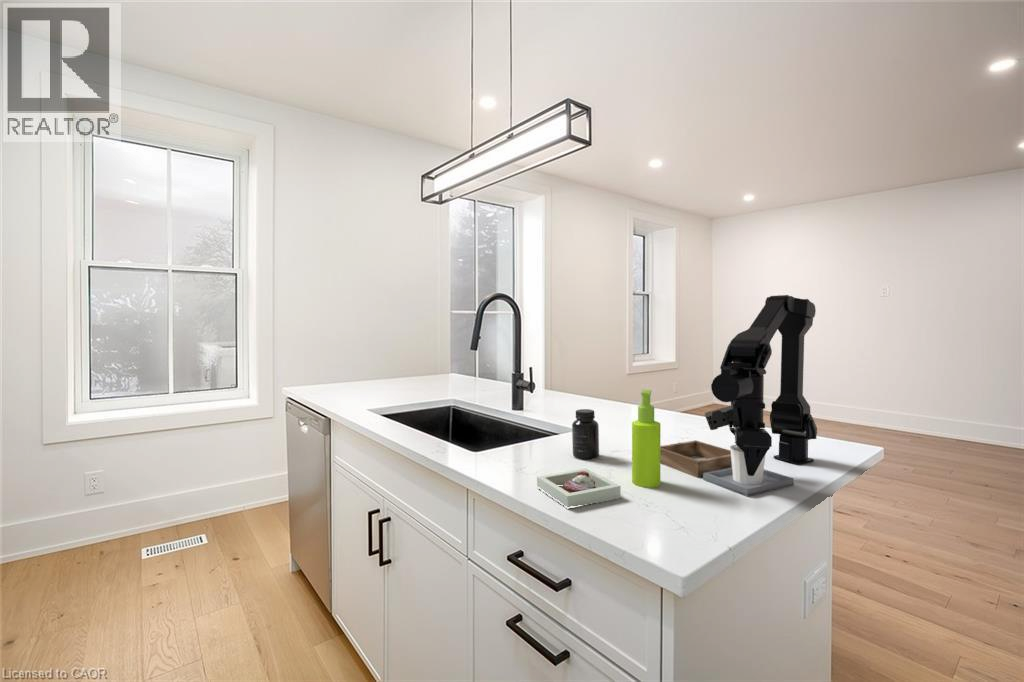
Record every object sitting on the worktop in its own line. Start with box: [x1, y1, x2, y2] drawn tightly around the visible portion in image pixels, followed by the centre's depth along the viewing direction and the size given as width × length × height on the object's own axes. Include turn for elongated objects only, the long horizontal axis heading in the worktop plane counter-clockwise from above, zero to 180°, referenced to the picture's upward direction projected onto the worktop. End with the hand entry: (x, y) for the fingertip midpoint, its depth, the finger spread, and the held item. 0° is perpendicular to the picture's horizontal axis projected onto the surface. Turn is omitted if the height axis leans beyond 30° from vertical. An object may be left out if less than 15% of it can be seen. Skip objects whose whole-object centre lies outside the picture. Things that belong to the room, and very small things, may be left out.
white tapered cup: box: [729, 444, 766, 485], centre depth 99 cm, size 7×7×7 cm
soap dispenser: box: [631, 389, 661, 488], centre depth 100 cm, size 6×7×20 cm
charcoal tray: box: [702, 467, 795, 497], centre depth 99 cm, size 14×11×2 cm
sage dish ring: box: [536, 468, 621, 507], centre depth 94 cm, size 12×12×2 cm
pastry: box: [561, 471, 596, 493], centre depth 93 cm, size 8×8×5 cm
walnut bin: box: [660, 440, 732, 479], centre depth 112 cm, size 14×14×4 cm
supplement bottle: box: [571, 408, 600, 461], centre depth 120 cm, size 7×7×12 cm
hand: (747, 468), depth 99 cm, fingers open, 9 cm apart
